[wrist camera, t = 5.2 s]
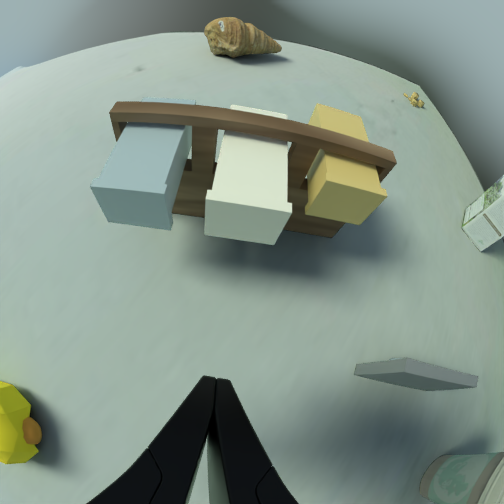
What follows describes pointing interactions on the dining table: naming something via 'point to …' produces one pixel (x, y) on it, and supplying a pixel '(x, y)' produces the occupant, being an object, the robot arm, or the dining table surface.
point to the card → (416, 375)
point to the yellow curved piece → (16, 427)
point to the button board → (213, 118)
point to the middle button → (249, 187)
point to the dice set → (415, 100)
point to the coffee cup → (465, 479)
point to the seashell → (238, 38)
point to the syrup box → (486, 217)
